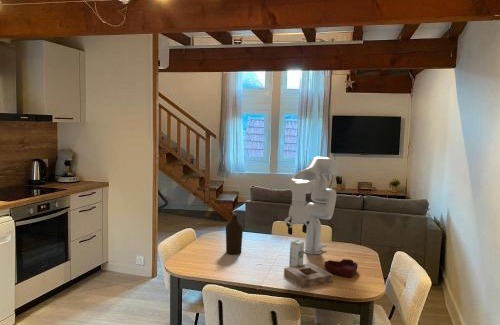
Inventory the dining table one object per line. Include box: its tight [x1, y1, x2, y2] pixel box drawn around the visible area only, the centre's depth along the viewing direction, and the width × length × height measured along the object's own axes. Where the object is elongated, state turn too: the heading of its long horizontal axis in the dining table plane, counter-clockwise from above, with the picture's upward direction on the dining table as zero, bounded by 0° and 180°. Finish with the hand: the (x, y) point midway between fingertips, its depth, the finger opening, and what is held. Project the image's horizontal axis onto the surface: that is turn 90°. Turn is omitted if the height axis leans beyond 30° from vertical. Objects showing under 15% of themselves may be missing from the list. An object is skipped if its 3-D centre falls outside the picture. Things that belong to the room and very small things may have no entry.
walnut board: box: [283, 262, 334, 289], centre depth 205 cm, size 18×18×4 cm
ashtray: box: [323, 258, 359, 279], centre depth 214 cm, size 18×16×5 cm
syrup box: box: [289, 239, 305, 267], centre depth 222 cm, size 6×6×14 cm
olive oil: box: [225, 212, 244, 256], centre depth 242 cm, size 11×11×25 cm
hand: (297, 233), depth 221 cm, fingers open, 9 cm apart
